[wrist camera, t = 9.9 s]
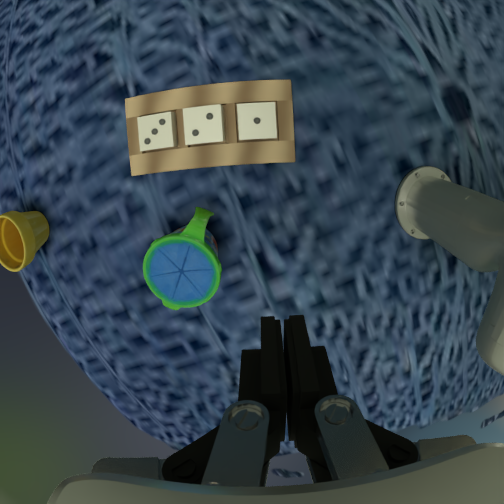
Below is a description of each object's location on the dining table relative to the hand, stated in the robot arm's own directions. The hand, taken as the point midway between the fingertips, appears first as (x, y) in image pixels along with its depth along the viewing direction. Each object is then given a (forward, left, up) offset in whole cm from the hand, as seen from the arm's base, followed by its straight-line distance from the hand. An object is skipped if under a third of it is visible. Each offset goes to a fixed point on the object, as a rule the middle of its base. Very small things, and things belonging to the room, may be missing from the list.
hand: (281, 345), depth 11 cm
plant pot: (+43, +2, -35) cm, 56 cm away
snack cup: (+11, +8, -35) cm, 38 cm away
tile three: (+14, -10, -34) cm, 38 cm away
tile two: (+7, -10, -32) cm, 35 cm away
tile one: (0, -10, -34) cm, 35 cm away
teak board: (+7, -10, -35) cm, 37 cm away
